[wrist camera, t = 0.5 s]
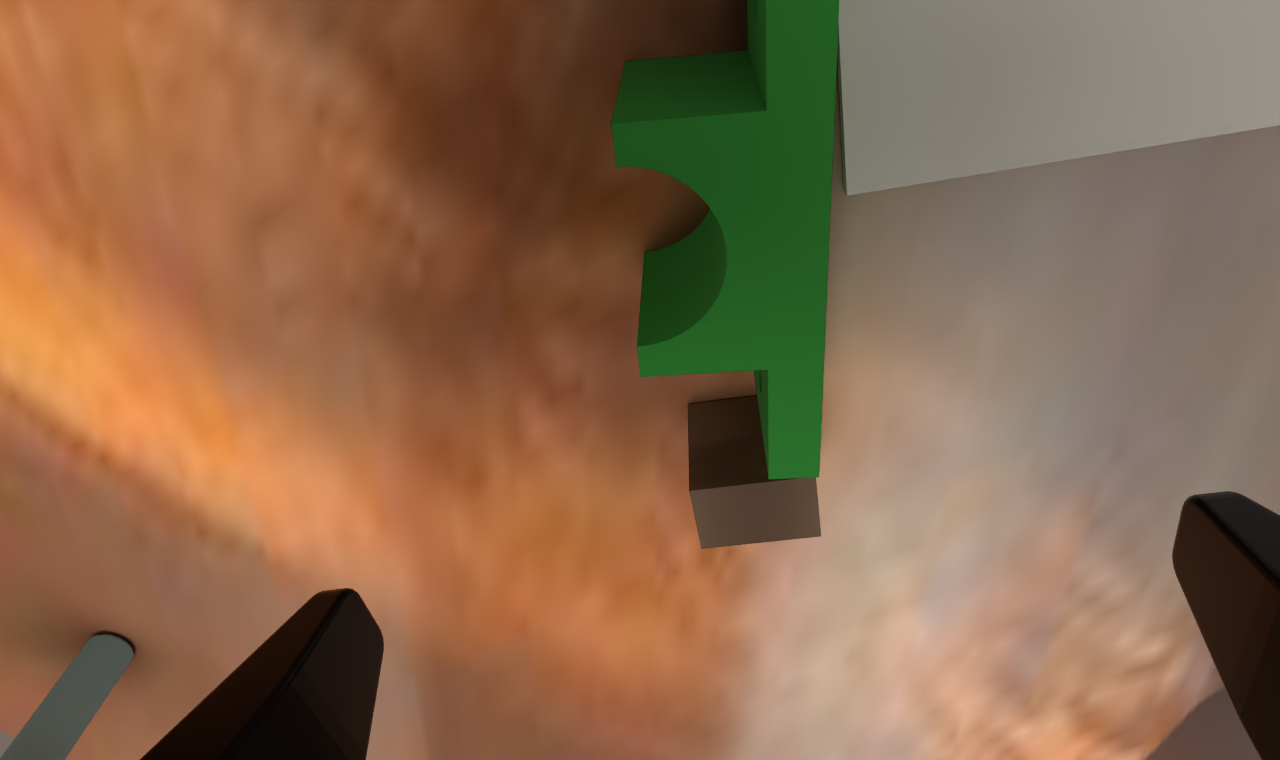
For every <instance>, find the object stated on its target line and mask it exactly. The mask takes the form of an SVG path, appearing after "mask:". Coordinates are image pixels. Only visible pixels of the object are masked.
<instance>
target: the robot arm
mask: <svg viewBox="0 0 1280 760" xmlns="http://www.w3.org/2000/svg"><path fill="white" fill-rule="evenodd" d="M1172 560H1173V566H1174V570H1175V573H1176V576H1177V579H1178V581H1179V583H1180V585H1181V588H1182V590H1183V592H1184V595H1185V597H1186V599H1187V602H1188V604H1189V606H1190V608H1191V611H1192V613H1193V615H1194V618H1195V620H1196V622H1197V625H1198V627H1199V629H1200V632H1201V634H1202V636H1203V638H1204V641H1205V643H1206V645H1207V648H1208V650H1209V652H1210V655H1211V657H1212V659H1213V661H1214V664H1215V666H1216V668H1217V671H1218V673H1219V675H1220V678H1221V680H1222V682H1223V684H1224V687H1225V689H1226V691H1227V694H1228V696H1229V698H1230V700H1231V702H1232V704H1233V706H1234V709H1235V711H1236V713H1237V715H1238V717H1239V719H1240V721H1241V723H1242V725H1243V727H1244V729H1245V730H1246V732H1247V734H1248V736H1249V738H1250V740H1251V741H1252V743H1253V745H1254V747H1255V749H1256V750H1257V752H1258V754H1259V756H1260V757H1261V759H1262V760H1280V515H1278V514H1276V513H1274V512H1272V511H1271V510H1269V509H1267V508H1265V507H1263V506H1262V505H1260V504H1258V503H1256V502H1254V501H1253V500H1251V499H1249V498H1247V497H1246V496H1243V495H1241V494H1239V493H1236V492H1230V491H1226V492H1216V493H1207V494H1198V495H1193V496H1190V497H1189V498H1187V499H1186V501H1185V502H1184V504H1183V507H1182V511H1181V515H1180V520H1179V524H1178V529H1177V533H1176V538H1175V542H1174V546H1173V553H1172ZM383 650H384V642H383V636H382V633H381V630H380V628H379V626H378V625H377V623H376V621H375V620H374V618H373V617H372V615H371V613H370V612H369V610H368V608H367V607H366V605H365V603H364V602H363V600H362V598H361V597H360V595H359V594H358V593H357V592H356V591H354V590H353V589H349V588H344V589H335V590H326V591H322V592H319V593H317V594H315V595H314V596H313V597H312V598H311V599H310V600H308V601H307V602H306V603H305V604H304V605H303V606H302V607H301V608H300V609H299V610H298V611H297V612H296V613H295V614H294V615H293V616H292V617H290V618H289V619H288V620H287V621H286V622H285V623H284V624H283V625H282V626H281V627H280V628H279V629H278V630H277V631H276V632H275V633H274V634H272V635H271V636H270V637H269V638H268V639H267V640H266V641H265V642H264V643H263V644H262V645H261V646H260V647H259V648H258V649H257V650H256V651H254V652H253V653H252V654H251V655H250V656H249V657H248V658H247V659H246V660H245V661H244V662H243V663H242V664H241V665H240V666H239V667H238V668H236V669H235V670H234V671H233V672H232V673H231V674H230V675H229V676H228V677H227V678H226V679H225V680H224V681H223V682H222V683H221V684H219V685H218V686H217V687H216V688H215V689H214V690H213V691H212V692H211V693H210V694H209V695H208V696H207V697H206V698H205V699H204V700H203V701H201V702H200V703H199V704H198V705H197V706H196V707H195V708H194V709H193V710H192V711H191V712H190V713H189V714H188V715H187V716H186V717H185V718H183V719H182V720H181V721H180V722H179V723H178V724H177V725H176V726H175V727H174V728H173V729H172V730H171V731H170V732H169V733H168V734H167V735H165V736H164V737H163V738H162V739H161V740H160V741H159V742H158V743H157V744H156V745H155V746H154V747H153V748H152V749H151V750H150V751H149V752H147V753H146V754H145V755H144V756H143V757H142V758H141V759H140V760H366V755H367V749H368V743H369V737H370V731H371V725H372V718H373V712H374V706H375V700H376V694H377V688H378V682H379V676H380V670H381V664H382V658H383Z"/></svg>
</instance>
